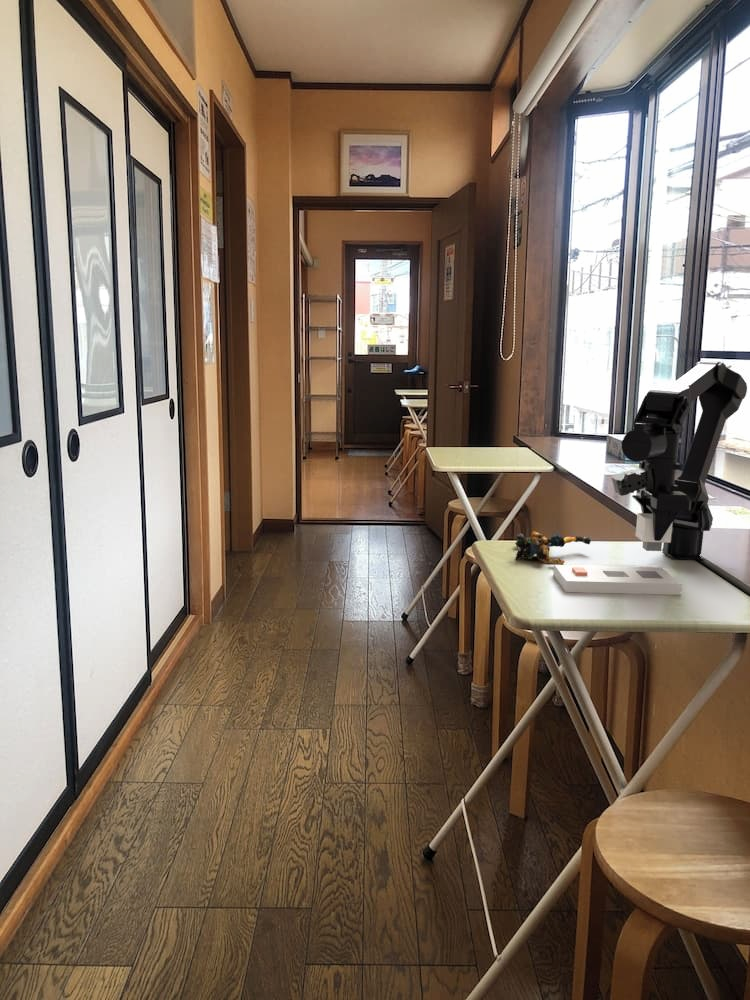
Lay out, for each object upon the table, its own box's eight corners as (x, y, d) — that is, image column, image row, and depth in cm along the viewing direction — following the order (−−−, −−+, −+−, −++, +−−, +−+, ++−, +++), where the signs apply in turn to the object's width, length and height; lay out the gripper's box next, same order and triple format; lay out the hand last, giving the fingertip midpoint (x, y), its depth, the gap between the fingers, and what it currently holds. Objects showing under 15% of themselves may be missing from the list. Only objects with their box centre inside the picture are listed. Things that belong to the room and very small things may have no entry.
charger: (661, 546, 158) (664, 513, 157) (669, 552, 154) (673, 519, 153) (634, 545, 158) (637, 513, 157) (642, 552, 154) (645, 518, 153)
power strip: (660, 577, 151) (662, 564, 151) (680, 594, 141) (682, 580, 141) (553, 575, 151) (554, 561, 150) (565, 592, 141) (566, 577, 141)
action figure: (589, 554, 168) (586, 572, 154) (516, 546, 172) (506, 563, 158) (592, 527, 167) (588, 543, 153) (518, 520, 171) (508, 535, 157)
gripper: (604, 448, 162) (597, 524, 165) (633, 463, 143) (625, 549, 146) (660, 449, 162) (652, 526, 165) (696, 465, 143) (687, 550, 147)
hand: (652, 537), depth 156 cm, fingers closed on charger, 5 cm apart
